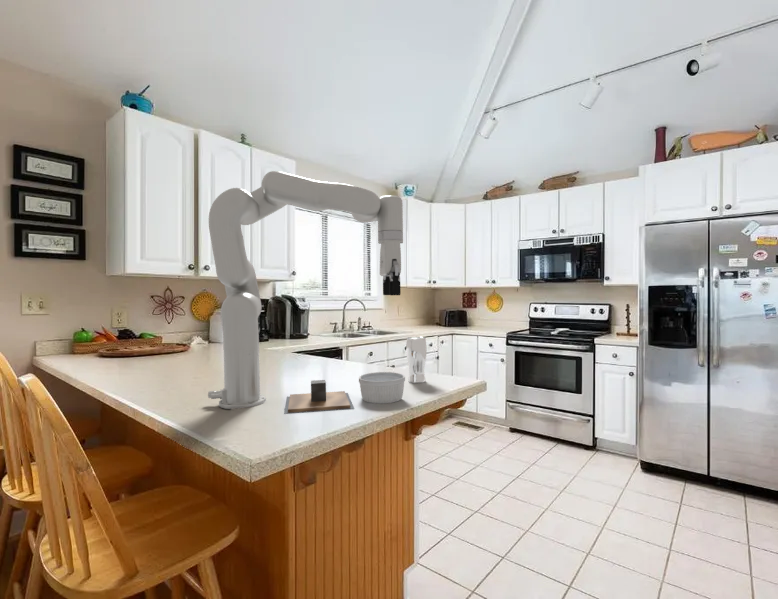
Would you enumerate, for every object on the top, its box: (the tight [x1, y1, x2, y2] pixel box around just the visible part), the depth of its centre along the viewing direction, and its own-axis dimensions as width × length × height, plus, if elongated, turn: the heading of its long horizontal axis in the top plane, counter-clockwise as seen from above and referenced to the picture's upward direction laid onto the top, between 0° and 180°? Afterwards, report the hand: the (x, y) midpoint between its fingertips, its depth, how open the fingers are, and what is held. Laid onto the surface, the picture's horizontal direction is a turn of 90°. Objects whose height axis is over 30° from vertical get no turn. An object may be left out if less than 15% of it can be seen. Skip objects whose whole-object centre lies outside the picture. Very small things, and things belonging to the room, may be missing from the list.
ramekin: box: [358, 371, 406, 404], centre depth 121 cm, size 13×13×7 cm
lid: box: [288, 379, 350, 413], centre depth 117 cm, size 16×16×6 cm
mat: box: [283, 392, 355, 415], centre depth 117 cm, size 18×18×1 cm
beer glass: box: [405, 336, 428, 384], centre depth 144 cm, size 7×7×15 cm
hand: (391, 295), depth 127 cm, fingers open, 9 cm apart
